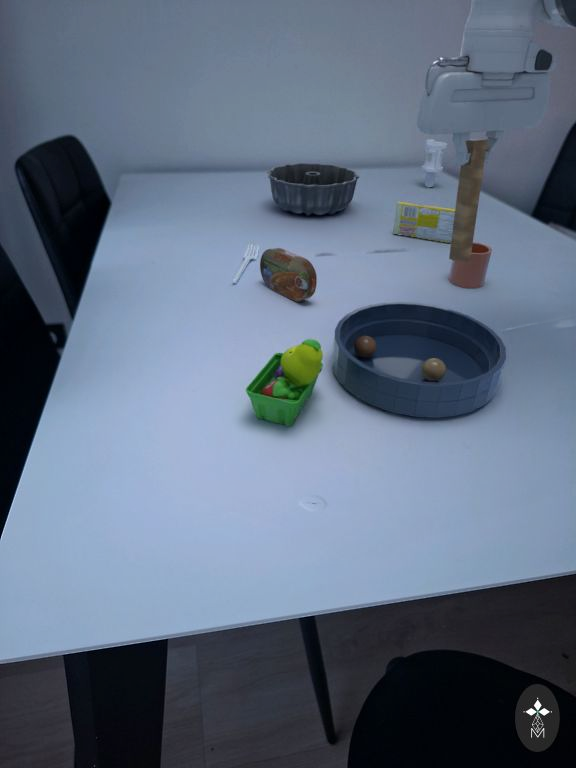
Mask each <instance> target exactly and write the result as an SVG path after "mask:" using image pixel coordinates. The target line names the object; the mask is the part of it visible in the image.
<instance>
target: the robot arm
mask: <svg viewBox="0 0 576 768" xmlns="http://www.w3.org/2000/svg"><path fill="white" fill-rule="evenodd" d="M538 22H542V23H546V24H548V25H549V26H553V27H556V28H566V29H576V0H471V6H470V11H469V15H468V18H467V20H466V23H465V24H464V25H465V26H464V30H463V34H462V35H463V36H462V42H461V47H460V48H461V49H460V52H459V53H460V54H459V56H452V57H450V56H449V57H448V56H440V57H437V59H436V60H434V61H433V62H432V63H431V64H430V65H429V67H428V68H427V69H426V73H425V79H424V86H423V90H422V93H421V98H420V101H419V106H418V111H417V116H416V121H415V122H416V127H417V129H418V130H419V132H421V133H423V134H427V135H430V136H431V135H432V136H435V135H436V136H437V135H450V134H451V135H452V136H451V137H452V142H453V146H454V149H455V151H456V153H455V158H454V159H455V160H454V164H455V165H457V166H460V167H461V165H469V164H470V159H471V155H472V153H471V152H468V150H467V146H466V141H468V140H469V139H471V138H470V137H471V134H472V133H483V132H485V137H487V138H486V140H488V141H487V148H486V155H485V162H484V164H490V163H491V161H492V156H493V152H494V151H495V150H496V148H497V147H498V145H499V144H500V142H501V141H502V139H503V136H504V132H505V131H513V130H529V129H536V128H537V127H538V126H539V125H540V124H541V123H542V121H543V120H544V117H545V115H546V111H547V107H548V102H549V98H550V94H551V90H552V89H551V88H552V77H551V74H550V73H551V72H553V71H554V70H555V68H556V66H557V62H558V55H557V53H555V52H553V51H552V50H550V49H548V48H546V47H544V46H542V45H540V44H539V43H538V42H536V41H534V40H533V37H534V30H535V26H536V24H537V23H538Z"/></svg>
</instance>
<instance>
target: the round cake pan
mask: <svg viewBox="0 0 576 768" xmlns="http://www.w3.org/2000/svg"><path fill="white" fill-rule="evenodd" d="M335 326H336V327H335V328H334V333H333V334H334V335H333V347H332V358H331V359H332V360H331V361H332V365H331V366H332V370H333V373H334V375H335V379H336V380H337V381H338V382H339V383H340V384H341V386H343V388H344V389H345V390H347V391H348V392H349V393H350V394H352V395H353V396H355V397H356V398H358V399H359V400H361V401H364V402H365V403H367V404H369V405H371V406H373V407H376V408H379V409H382V410H383V411H384V410H385V411H387V412H391V413H393V414H399V415H404V416H405V415H406V416H410V417H417V418H447V417H448V418H449V417H456V416H461V415H464V414H468V413H471V412H472V413H473V412H474V411H476V410H478V409H480V408H482V407H485V405H487V403H488V402H490V401H491V400H492V399H493V398H494V396H495V394H496V392H497V389H498V386H499V384H500V380H501V377H502V373H503V370H504V366H505V363H506V360H507V349H506V346H505V344H504V342H503V340H502V338H501V337H500V336H499V335H498V334H497V333H496V332H495V331H494V329H492V328H491V327H489V326H488V325H486V324H484V323H483V322H481V321H480V320H478V319H476V318H474V317H471V316H469V315H468V314H465V313H462V312H459V311H457V310H455V309H450V308H447V307H443V306H439V305H434V304H428V303H420V302H410V301H409V302H408V301H398V302H397V301H392V302H380V303H375V304H369V305H366V306H363V307H359V308H356V309H355V310H352V311H351V312H348V313H347V314H345V315H344V316H343V317H342V318H341V319H340V320H339V321H338V323H337V324H336V325H335ZM361 336H370V337H372V338H373V339H374V340H375V342H376V346H377V347H376V351H375V353H374V354H373V355H372V356H371V357H368V358H363V357H360V356H358V355H357V354H356V352H355V350H354V344H355V341H356V340H357V339H358V338H359V337H361ZM430 358H437V359H440V360H441V361H443V363H444V364H445V366H446V373H445V375H444V377H443V378H442V379H441V380H439V381H435V382H432V381H429V380H427V379H425V378H424V376H423V374H422V365H423V363H424V362H425V361H426V360H428V359H430Z"/></svg>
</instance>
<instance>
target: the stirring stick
mask: <svg viewBox="0 0 576 768" xmlns="http://www.w3.org/2000/svg"><path fill="white" fill-rule="evenodd" d="M487 141H488V140H487V139H486V138H485V139H484V138H469V140H468V141H466V146H467V150H468V152H471V153H472V155H471V159H470V164H469V165H461V166H460V168H459V169H460V170H459V176H458V186H457V192H456V201H455V208H454V209H455V216H454V224H453V232H452V240H451V243H450V248H449V256H448V260H451V261H453V260H454V261H456V262H464V261H470V258H471V251H472V244H473V242H474V236H475V229H476V224H477V215H478V209H479V202H480V195H481V188H482V182H483V174H484V167H485V163H484V162H485V155H486V148H487Z"/></svg>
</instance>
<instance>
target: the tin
mask: <svg viewBox="0 0 576 768" xmlns="http://www.w3.org/2000/svg"><path fill="white" fill-rule="evenodd" d="M259 270H260V274H261V278H262V281H263V282H264V284H265V286H266V287H268V289H270V290H271V291H274V292H275V293H278V294H280V295H282V296H283V297H285V298H287V299H289V300H291V301H292V302H293V301H294V302H297V303H298V302H302V301H304V300H308V299H310V298H311V297H312V296H313V295H314V294H315V293H316V290H317V283H318V282H317V278H318V277H317V272H316V269H315V267H314V265H313V264H312V263H311V262H310V260H308V259H307V258H306V257H303V256H300V255H299V254H296V253H293V252H291V251H288V250H286V249H283V248H281V247H276V248H268V249H266V250H264V252H262V254H261V257H260V261H259Z"/></svg>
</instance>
